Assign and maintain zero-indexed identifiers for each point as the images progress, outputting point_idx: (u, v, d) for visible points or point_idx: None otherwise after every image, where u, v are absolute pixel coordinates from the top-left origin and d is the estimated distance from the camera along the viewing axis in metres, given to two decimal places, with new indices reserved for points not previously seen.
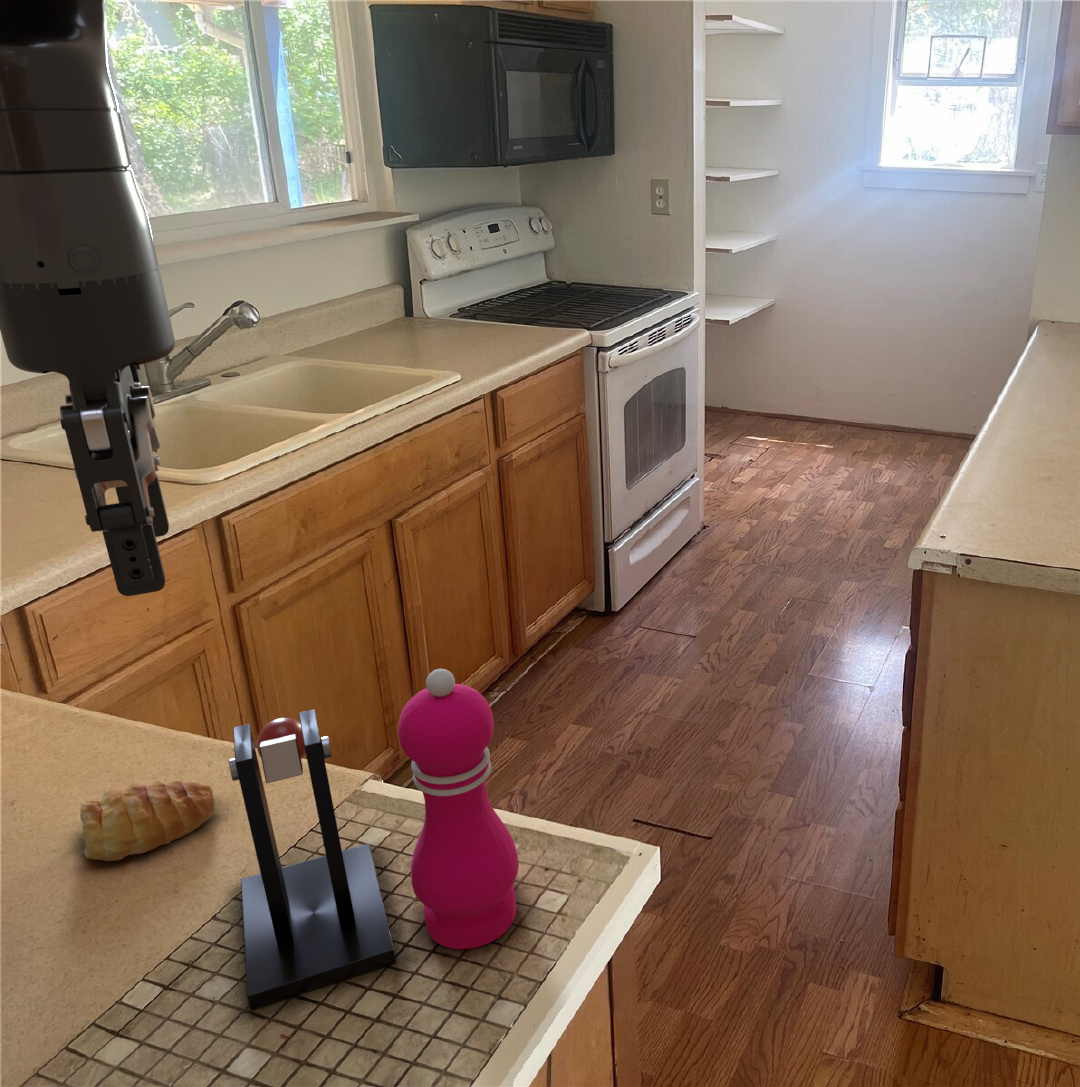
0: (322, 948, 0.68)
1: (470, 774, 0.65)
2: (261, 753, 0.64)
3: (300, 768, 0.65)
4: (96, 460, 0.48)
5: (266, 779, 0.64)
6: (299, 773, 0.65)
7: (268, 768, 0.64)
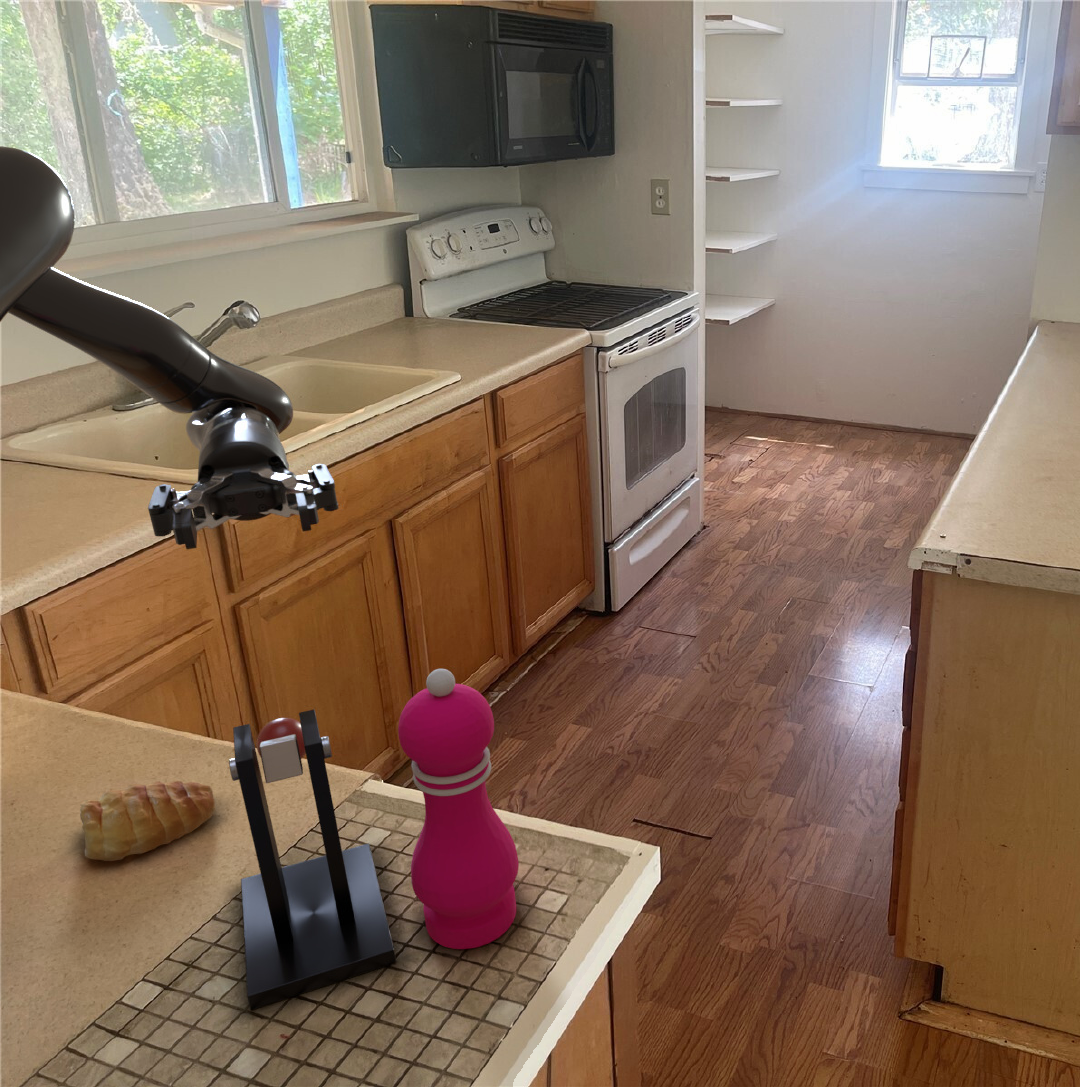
0: (322, 948, 0.68)
1: (470, 774, 0.65)
2: (261, 753, 0.64)
3: (300, 768, 0.65)
4: None
5: (266, 779, 0.64)
6: (299, 773, 0.65)
7: (268, 768, 0.64)
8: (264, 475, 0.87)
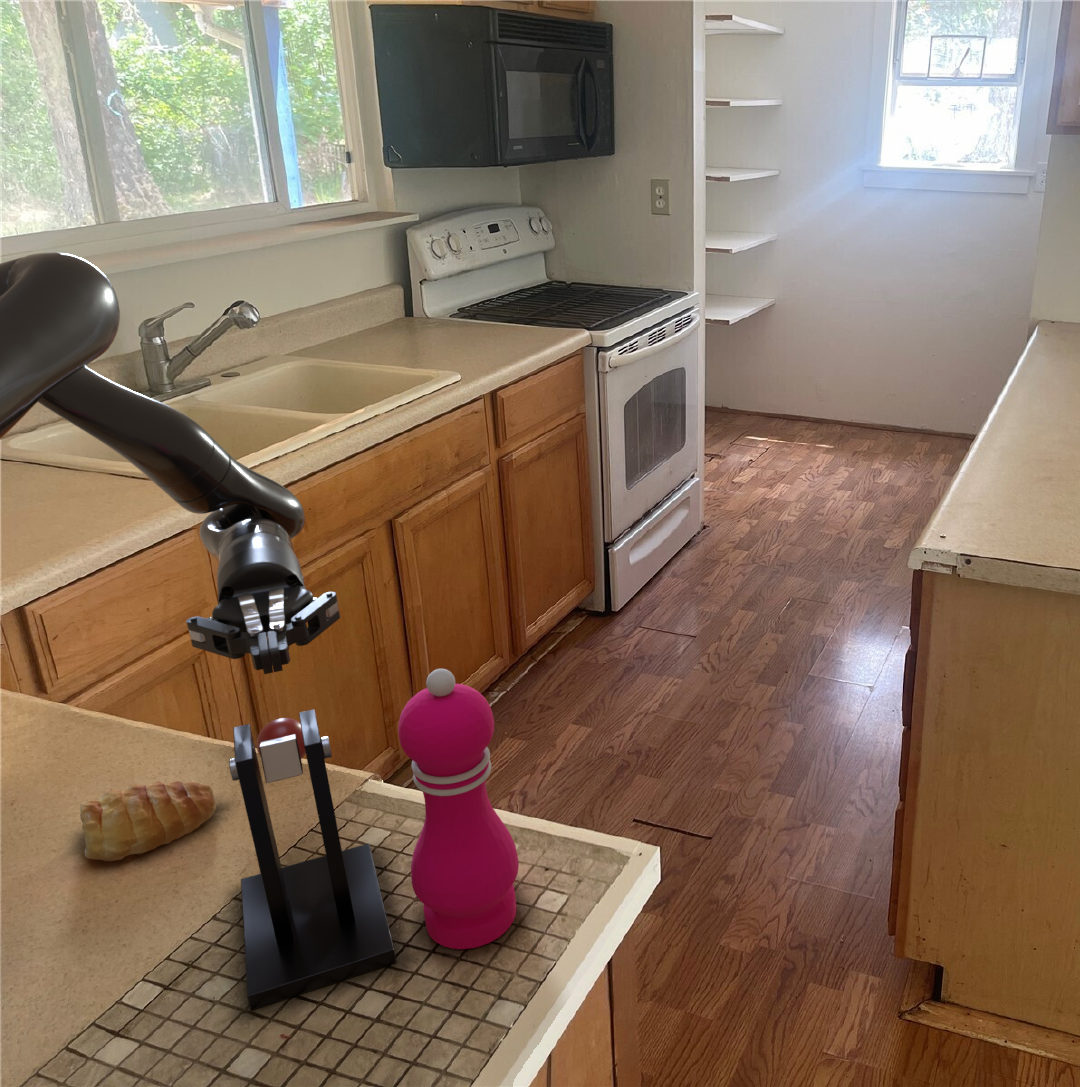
0: (322, 948, 0.68)
1: (470, 774, 0.65)
2: (261, 753, 0.64)
3: (300, 768, 0.65)
4: (325, 613, 0.91)
5: (266, 779, 0.64)
6: (299, 773, 0.65)
7: (268, 768, 0.64)
8: (272, 599, 0.90)
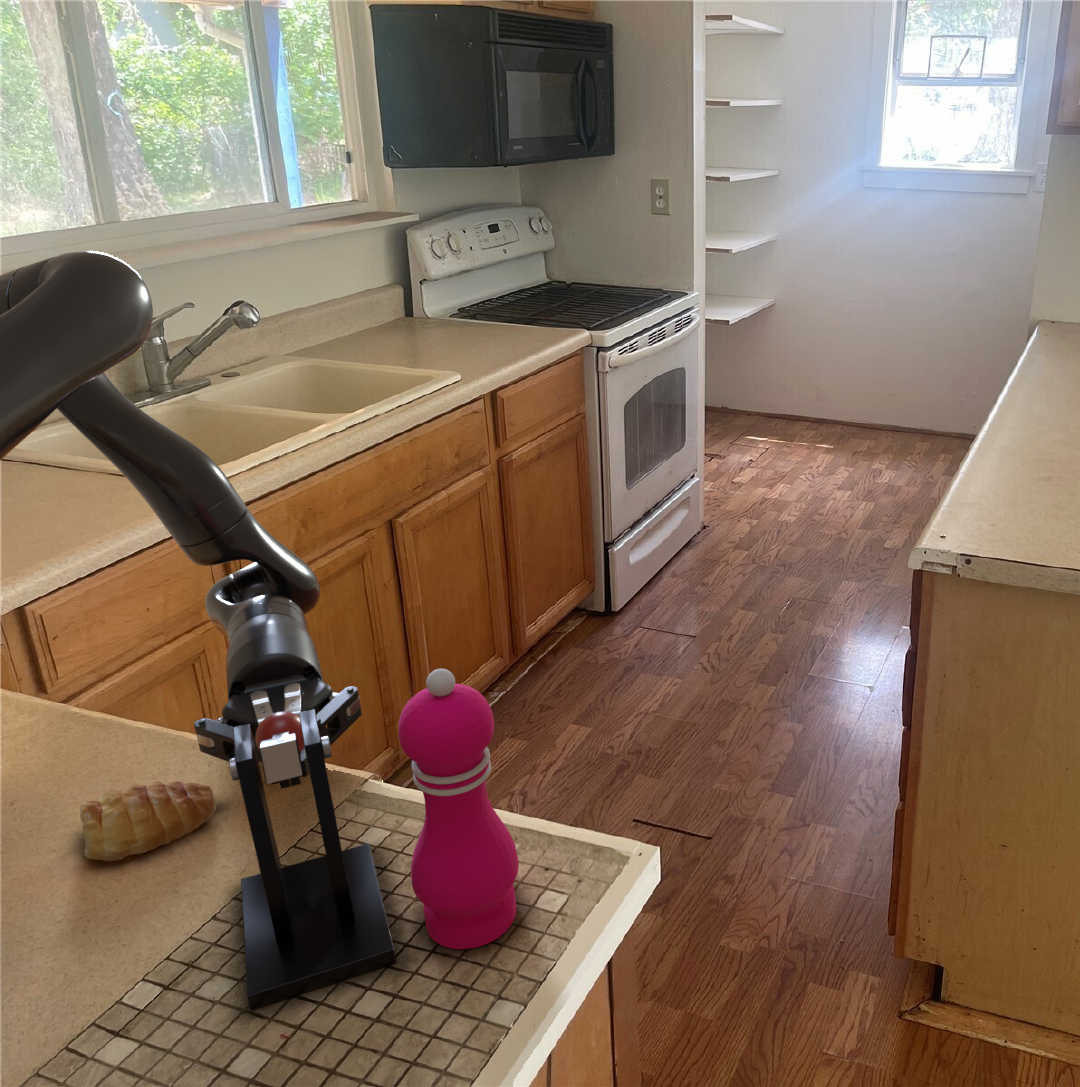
0: (322, 948, 0.68)
1: (470, 774, 0.65)
2: (261, 754, 0.64)
3: (300, 769, 0.65)
4: (346, 712, 0.83)
5: (266, 780, 0.64)
6: (299, 774, 0.65)
7: (268, 769, 0.64)
8: (287, 697, 0.82)
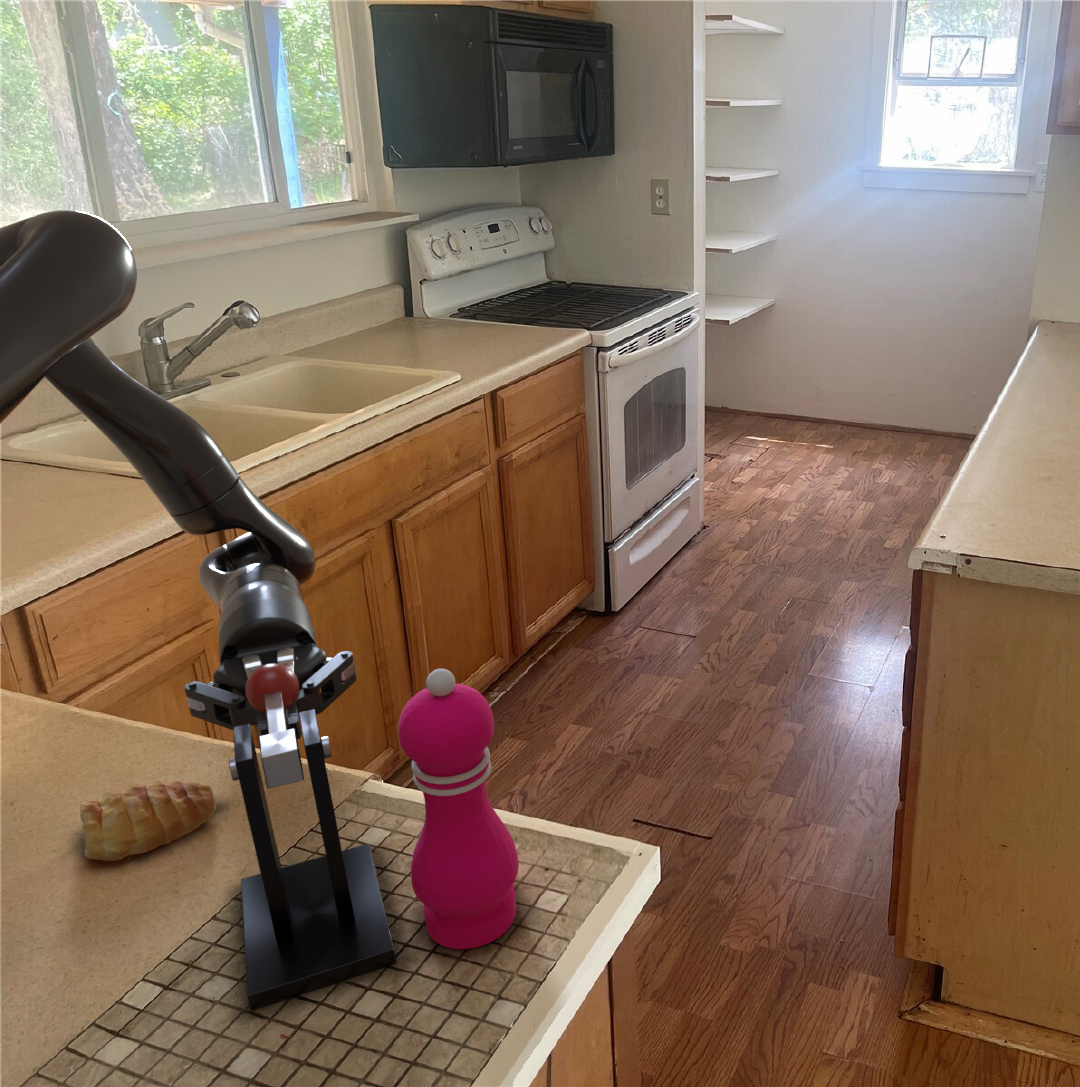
0: (322, 948, 0.68)
1: (470, 774, 0.65)
2: (263, 763, 0.64)
3: (301, 775, 0.65)
4: (340, 676, 0.81)
5: (268, 785, 0.65)
6: (300, 779, 0.66)
7: (270, 776, 0.65)
8: (280, 661, 0.80)
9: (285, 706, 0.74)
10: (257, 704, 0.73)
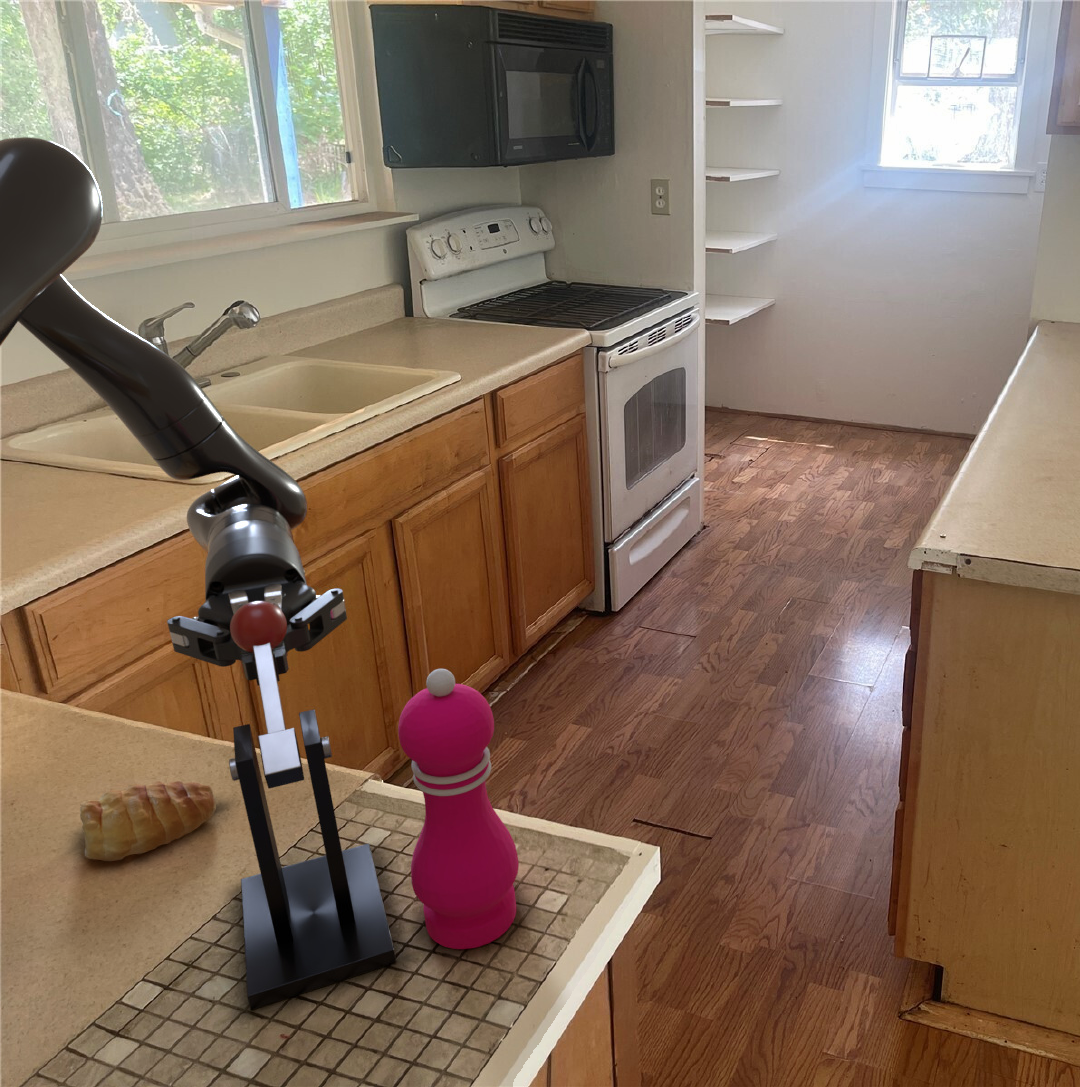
0: (322, 948, 0.68)
1: (470, 774, 0.65)
2: (266, 777, 0.64)
3: (302, 778, 0.66)
4: (329, 613, 0.78)
5: (269, 787, 0.66)
6: (301, 780, 0.67)
7: (272, 782, 0.65)
8: (267, 596, 0.78)
9: (273, 648, 0.71)
10: (244, 649, 0.70)
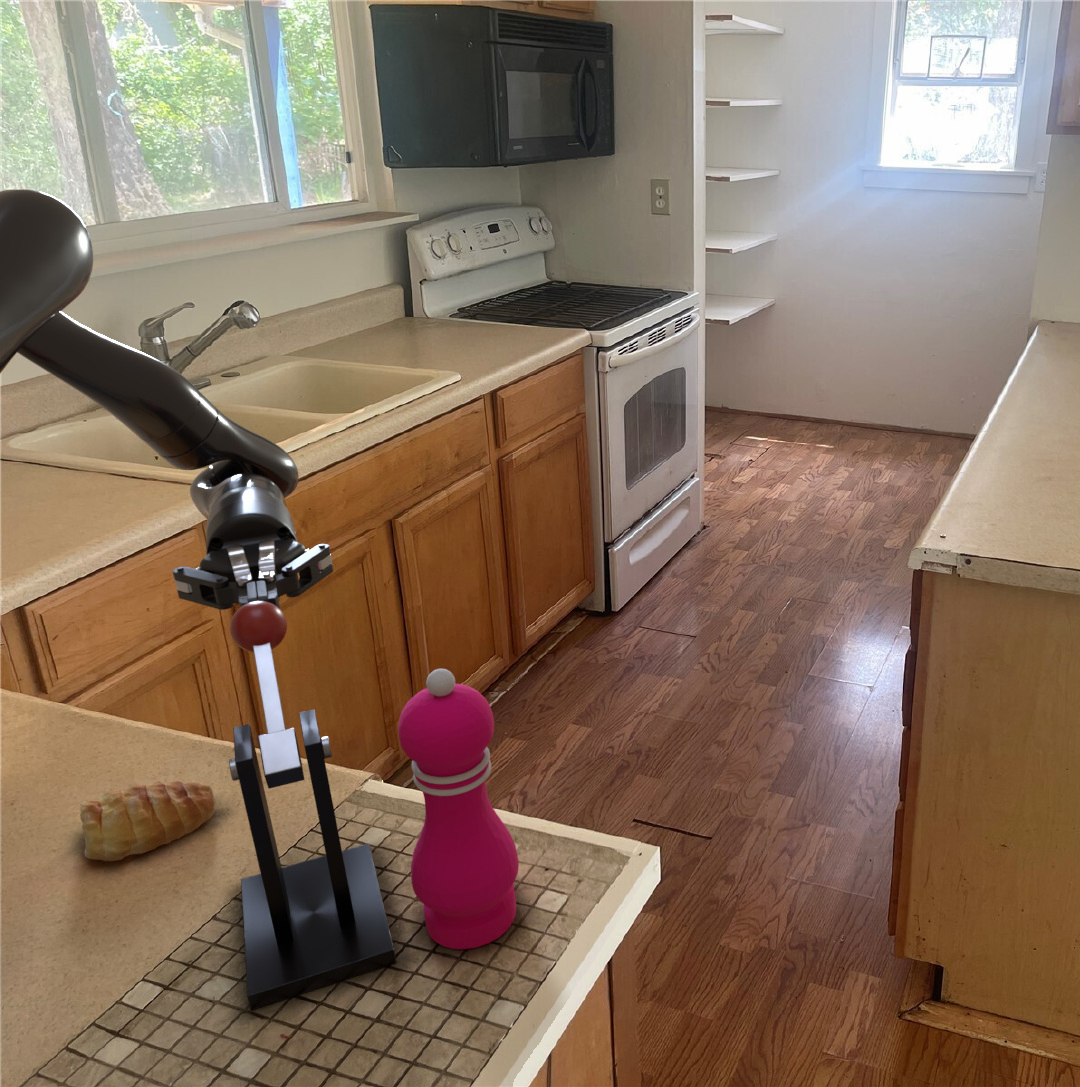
0: (322, 948, 0.68)
1: (470, 774, 0.65)
2: (266, 777, 0.64)
3: (302, 778, 0.66)
4: (317, 565, 0.88)
5: (269, 787, 0.66)
6: (301, 780, 0.67)
7: (272, 782, 0.65)
8: (262, 550, 0.87)
9: (273, 648, 0.71)
10: (244, 649, 0.70)
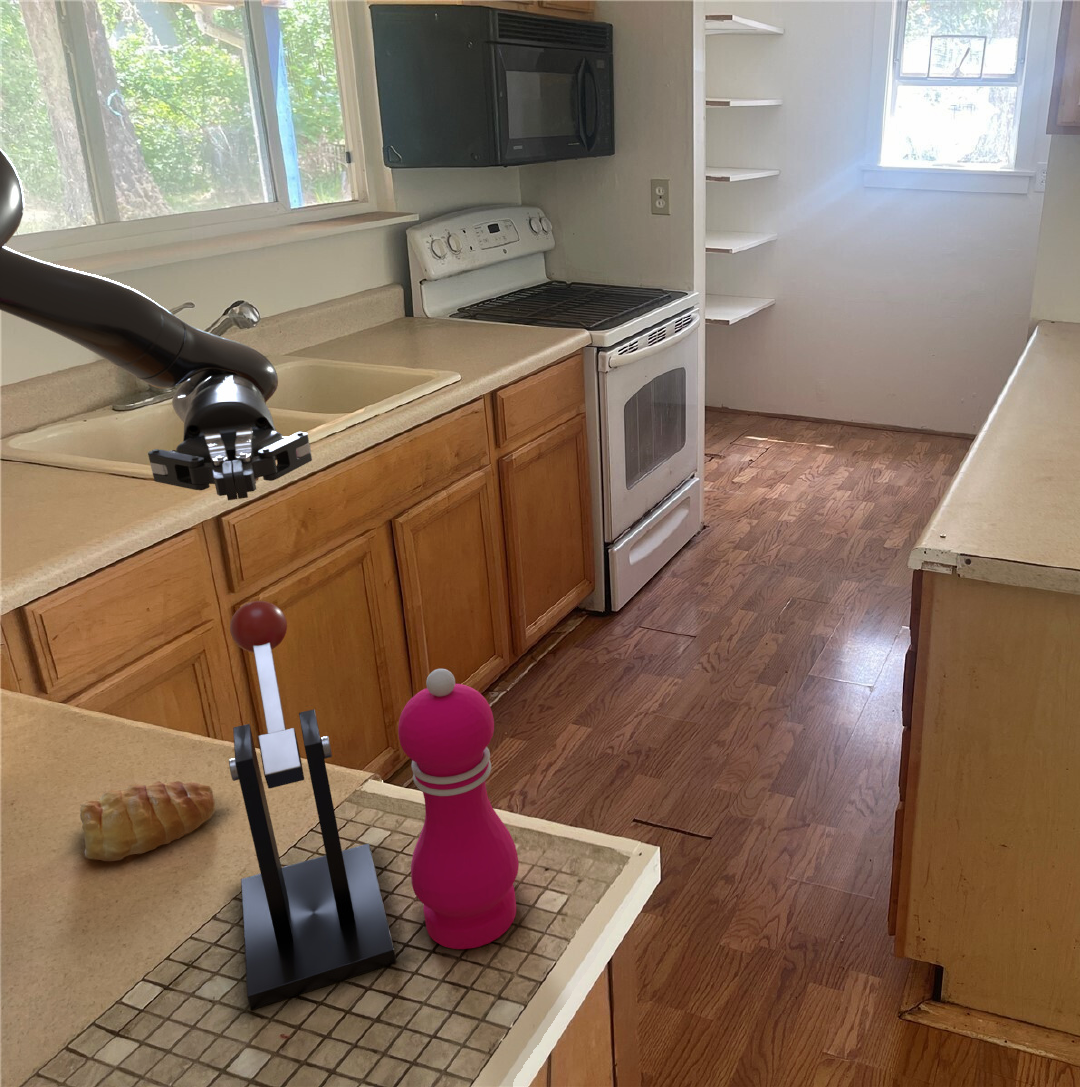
0: (322, 948, 0.68)
1: (470, 774, 0.65)
2: (266, 777, 0.64)
3: (302, 778, 0.66)
4: (295, 451, 0.86)
5: (269, 787, 0.66)
6: (301, 780, 0.67)
7: (272, 782, 0.65)
8: (239, 435, 0.86)
9: (273, 648, 0.71)
10: (244, 649, 0.70)
